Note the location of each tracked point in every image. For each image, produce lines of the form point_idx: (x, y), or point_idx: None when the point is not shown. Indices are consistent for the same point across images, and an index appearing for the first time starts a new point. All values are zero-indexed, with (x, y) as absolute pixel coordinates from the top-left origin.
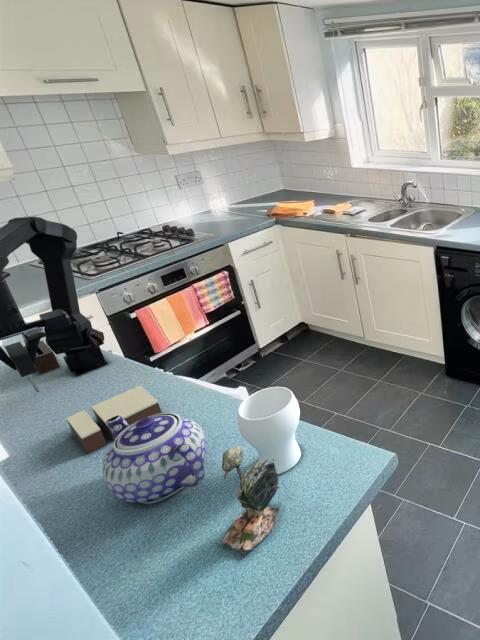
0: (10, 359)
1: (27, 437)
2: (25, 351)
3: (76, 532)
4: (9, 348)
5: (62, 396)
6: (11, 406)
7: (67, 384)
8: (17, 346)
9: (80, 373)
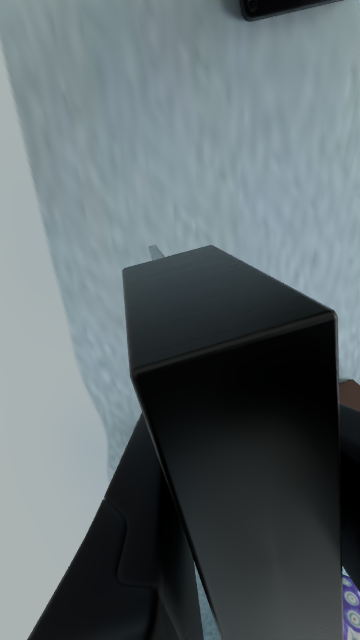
0: (195, 579)
1: (119, 380)
2: (335, 624)
3: (205, 625)
4: (210, 499)
5: (189, 188)
6: (28, 121)
7: (205, 81)
8: (294, 492)
9: (258, 17)
